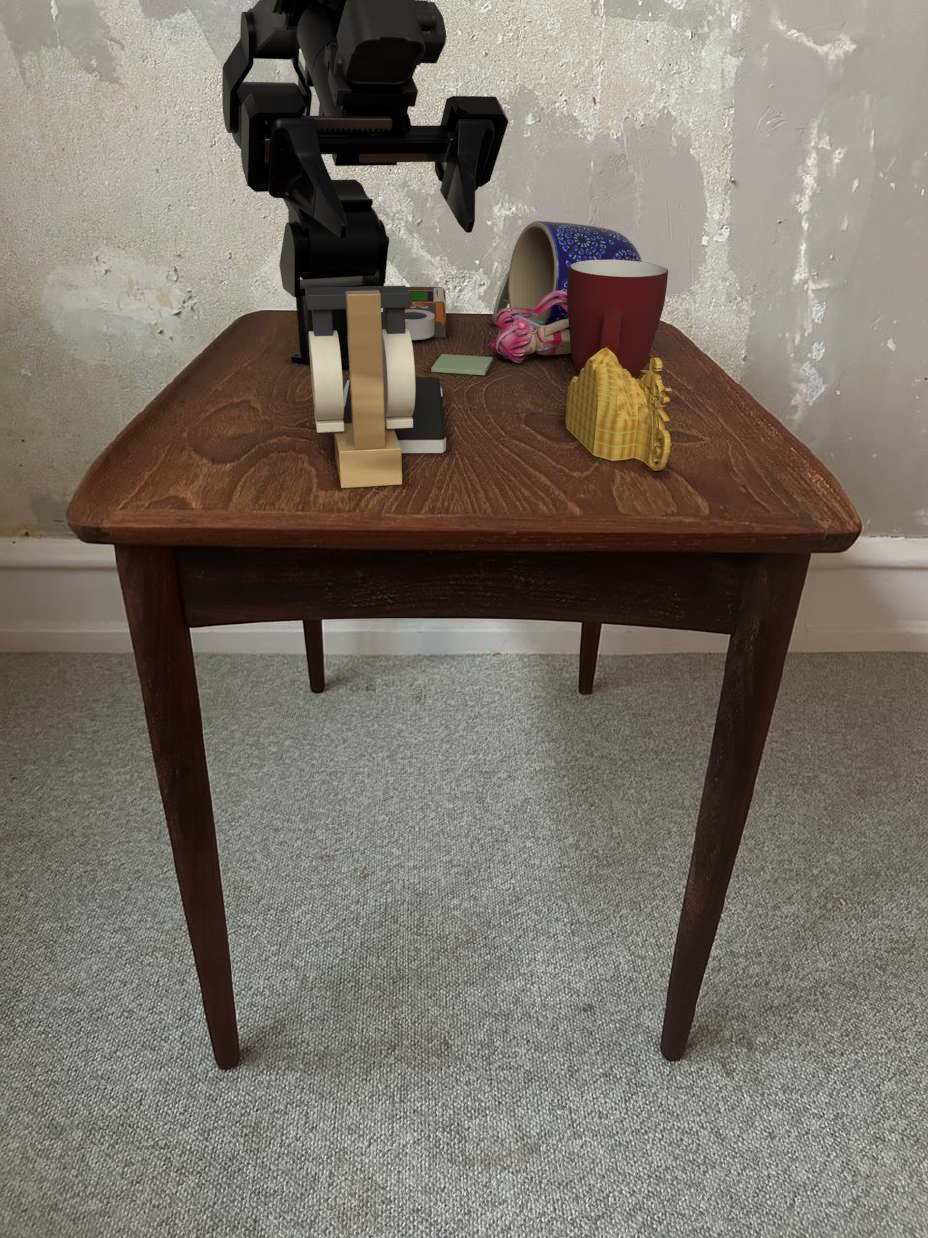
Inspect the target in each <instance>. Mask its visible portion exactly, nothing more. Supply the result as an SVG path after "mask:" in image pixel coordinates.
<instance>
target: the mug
mask: <svg viewBox="0 0 928 1238" xmlns="http://www.w3.org/2000/svg"><path fill="white" fill-rule="evenodd" d="M668 277H669V269H668V268H666V267H665V266H663V265H659V264H657V263H656V264H655V263H652V262H645V261H642V262H639V261H628V260H588V261H580V262H576V263H573V264H571V265H570V267H569V276H568V287H567V310H568V322H569V333H570V345H571V353H570V354H571V360H572V363H573V366H574V368H575V369H574V370H575V371H576V374H577V377H578V376H579V374H580V371H581V369H583V368H584V367H585V365H586V362H587V361H588V359H590V358H591V357H592V356H594V355H595V354H596V353H598V352H599V351H600V350H601V349H604V348H606V347H607V348H608V349H609V350H610V351H611V352H612V353H613V354H614V355H615V356H616V357H617V359H618V361H619V364H620V365H621V366H622V368H623V369H627V371H629V373H630V374H631V376H632V377H633V378H635V379H639V377H640V375H641V374H642V373H643V372H642V371H640V370H645V367H646V365H647V362H648V360H649V359H650V354H651V351H652V348H653V344H654V341H655V337H656V335H657V331H658V328H659V324H660V321H661V317H662V315H663V311H664V307H665V301H666V296H667V295H666V294H667V287H668V280H669V279H668Z"/></svg>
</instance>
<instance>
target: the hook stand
mask: <svg viewBox="0 0 928 1238" xmlns="http://www.w3.org/2000/svg"><path fill="white" fill-rule="evenodd" d="M345 295H346V314H347V334H348V353H349V368H348V371H349V372H348V373H349V378H350V392H351V411H352V423H349V424H344V431H339V432H333V444H334V459H335V463H336V469H337V473H338V479H339V484H340V485H339V486H340V488H341V489H347V488H348V489H349V488H366V487H367V488H368V487H381V486H382V487H383V486H385V487H386V486H398V485H399V486H402V485H403V469H402V468H403V463H402V461H403V459H402V457H403V456H402V454H403V453H401V447H400V444H399V441H398V439H397V436H396V433H395V431H394V429H387V428H386V425H385V413H384V381H383V350H382V308H381V294H380V292H379V291H378V290H374V291H346V292H345Z"/></svg>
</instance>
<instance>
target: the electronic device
mask: <svg viewBox="0 0 928 1238" xmlns="http://www.w3.org/2000/svg"><path fill="white" fill-rule="evenodd" d="M406 287H407V289H408V290H409V292H410V293H411V307H410V308H405V328H406V329H408V330H409V332H410V335H411V340H412V341H418V340H419V341H420V340H427V339H430V338H443V339H445V338H447V337H446V336H447V335H446V334H447V330H446V329H447V326H446V325H447V299H446V298H447V297H446V296H447V295H446V289H445V288H443V287H442V286H406ZM381 318H382V329H385V325H384V308H382V311H381Z"/></svg>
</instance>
